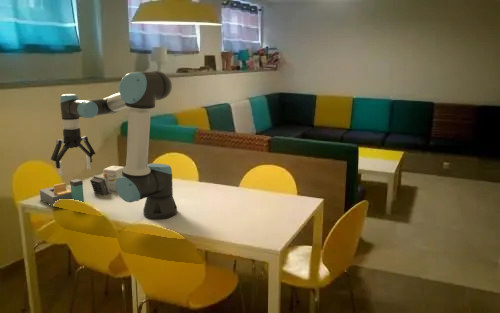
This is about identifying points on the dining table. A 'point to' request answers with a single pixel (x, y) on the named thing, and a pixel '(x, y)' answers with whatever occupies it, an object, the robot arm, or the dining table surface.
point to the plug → (77, 189)
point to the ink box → (112, 176)
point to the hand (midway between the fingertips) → (75, 172)
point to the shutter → (61, 189)
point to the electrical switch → (100, 185)
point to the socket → (53, 195)
